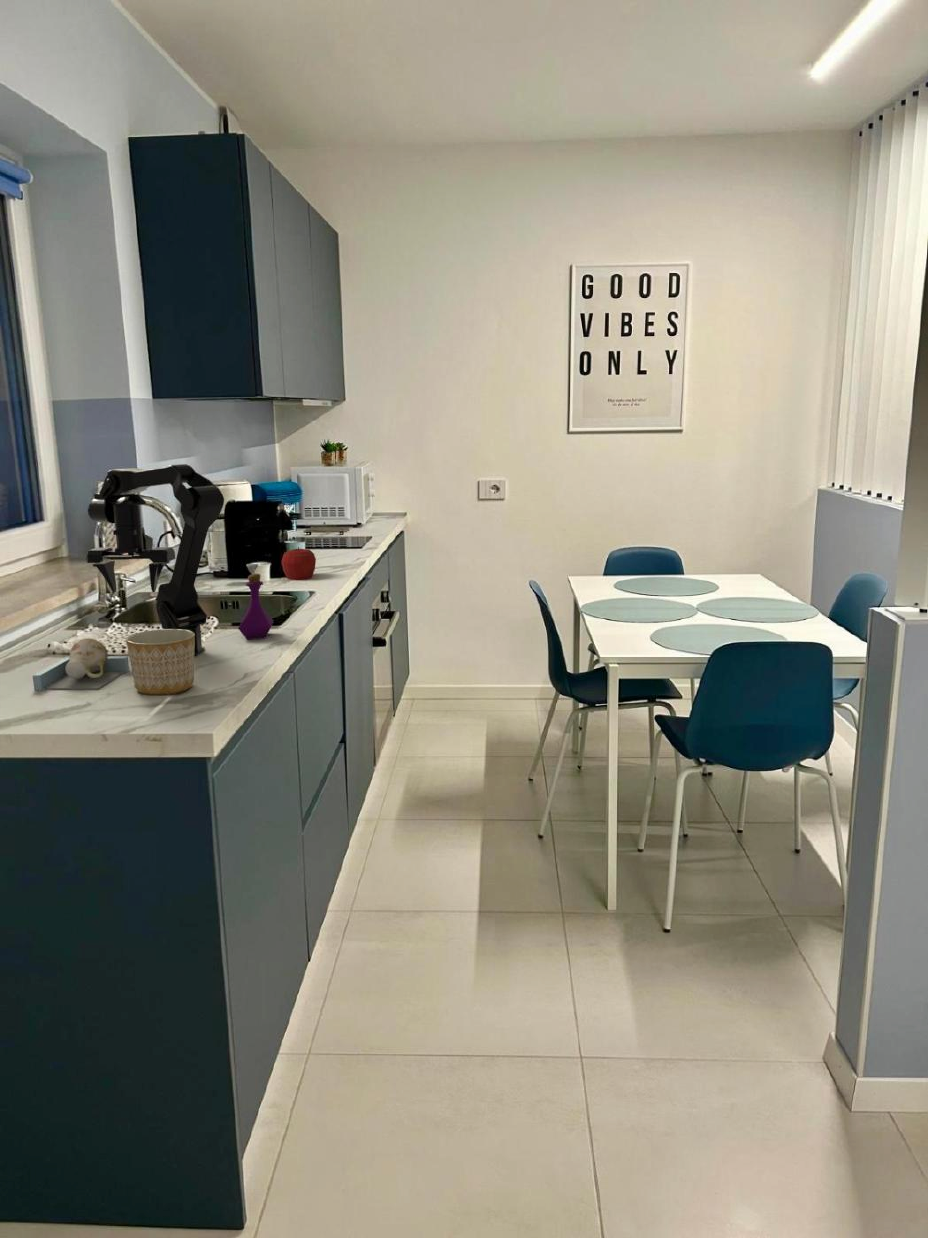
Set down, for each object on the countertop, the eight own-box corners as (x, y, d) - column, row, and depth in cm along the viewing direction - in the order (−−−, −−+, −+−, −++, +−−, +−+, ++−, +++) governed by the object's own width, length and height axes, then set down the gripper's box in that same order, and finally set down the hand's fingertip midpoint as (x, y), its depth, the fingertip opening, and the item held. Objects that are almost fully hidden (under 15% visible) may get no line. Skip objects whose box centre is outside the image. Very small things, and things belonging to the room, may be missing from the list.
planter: (125, 685, 185) (120, 633, 183) (190, 675, 191) (186, 626, 189) (137, 701, 174) (132, 647, 172) (205, 691, 180) (201, 638, 178)
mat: (123, 672, 194) (123, 671, 194) (98, 689, 182) (98, 688, 182) (74, 672, 195) (73, 671, 194) (45, 689, 183) (45, 688, 183)
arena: (129, 670, 196) (127, 656, 195) (99, 690, 182) (98, 675, 181) (68, 670, 196) (66, 656, 196) (34, 690, 182) (32, 675, 182)
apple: (284, 580, 301) (282, 544, 298) (317, 579, 302) (315, 543, 299) (281, 586, 290) (279, 549, 287) (316, 585, 291) (314, 548, 289)
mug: (55, 683, 184) (52, 636, 187) (85, 694, 193) (81, 649, 196) (89, 672, 183) (85, 626, 186) (118, 684, 192) (113, 639, 195)
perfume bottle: (243, 634, 227) (238, 561, 223) (274, 633, 227) (270, 560, 223) (238, 641, 219) (233, 566, 216) (271, 640, 220) (266, 565, 216)
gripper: (180, 520, 219) (186, 585, 223) (103, 520, 220) (109, 586, 223) (163, 525, 208) (169, 594, 212) (81, 526, 209) (88, 594, 213)
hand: (134, 592), depth 215 cm, fingers open, 9 cm apart
